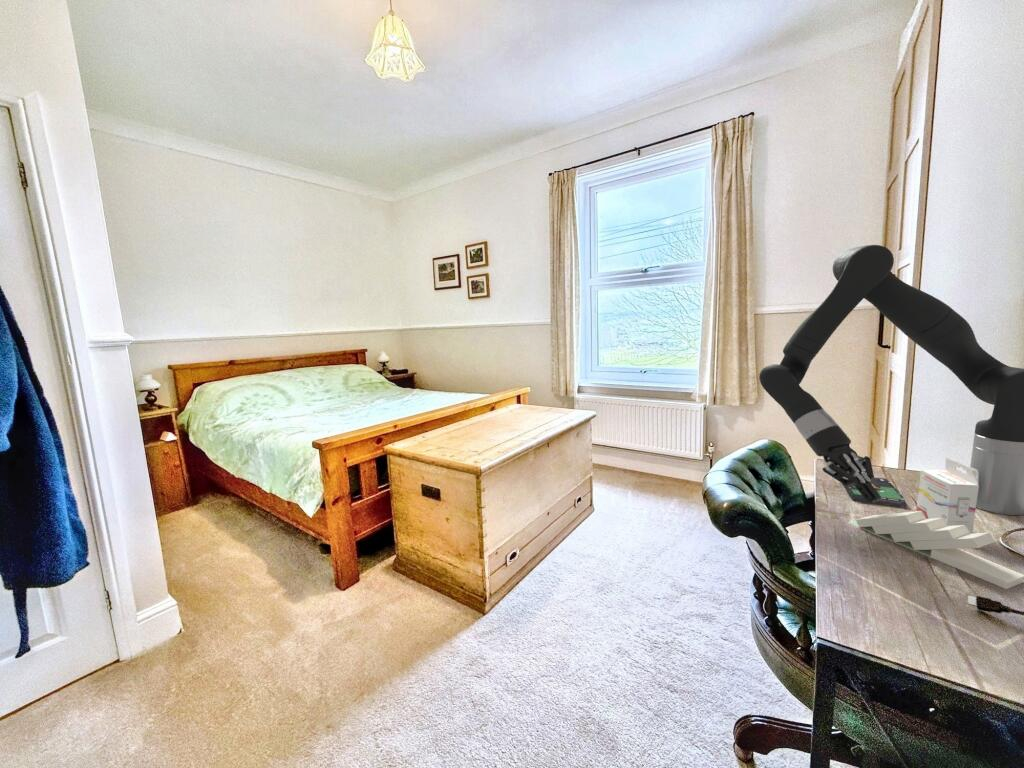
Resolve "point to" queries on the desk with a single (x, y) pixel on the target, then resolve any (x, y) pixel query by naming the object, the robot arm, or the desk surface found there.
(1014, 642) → the desk surface
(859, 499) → the disk drive
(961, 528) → the domino
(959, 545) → the domino
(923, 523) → the domino
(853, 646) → the desk surface
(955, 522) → the ink cartridge box
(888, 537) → the felt strip
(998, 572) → the domino
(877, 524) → the domino
